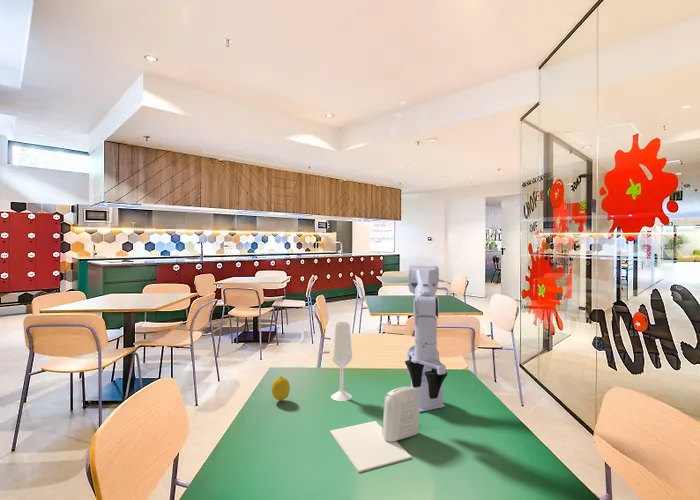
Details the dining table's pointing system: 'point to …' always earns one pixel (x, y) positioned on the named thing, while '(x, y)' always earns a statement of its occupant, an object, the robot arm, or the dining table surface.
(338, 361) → the champagne flute
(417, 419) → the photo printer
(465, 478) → the dining table surface
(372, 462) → the mat
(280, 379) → the lemon
